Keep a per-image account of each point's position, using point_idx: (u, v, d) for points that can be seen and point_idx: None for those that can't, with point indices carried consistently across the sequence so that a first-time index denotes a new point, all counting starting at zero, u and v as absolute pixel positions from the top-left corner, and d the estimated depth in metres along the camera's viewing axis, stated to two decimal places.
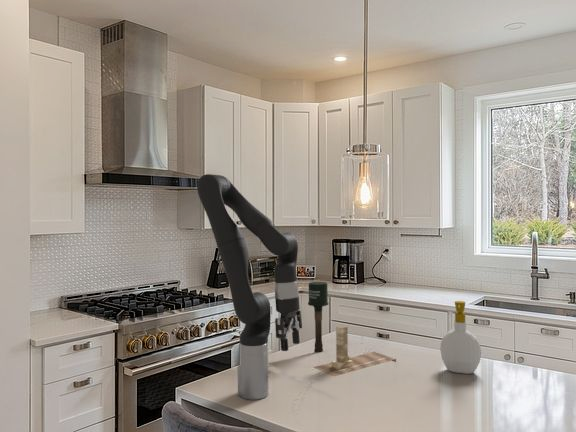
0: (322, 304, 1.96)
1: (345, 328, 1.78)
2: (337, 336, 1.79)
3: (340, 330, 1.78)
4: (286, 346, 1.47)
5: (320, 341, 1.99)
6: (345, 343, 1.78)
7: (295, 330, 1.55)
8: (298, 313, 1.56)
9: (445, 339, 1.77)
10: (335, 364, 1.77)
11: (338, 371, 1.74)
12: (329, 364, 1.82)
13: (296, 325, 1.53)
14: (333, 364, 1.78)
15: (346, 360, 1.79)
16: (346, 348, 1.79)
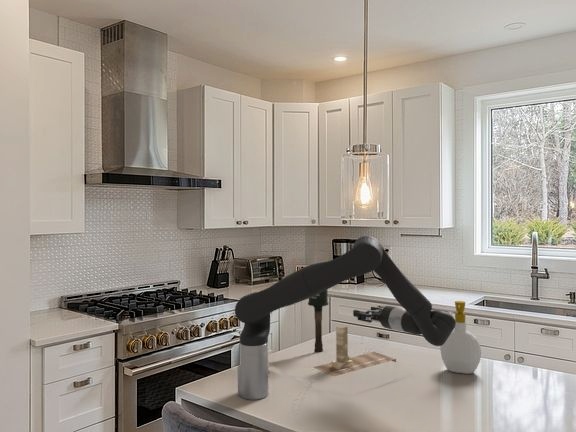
0: (322, 304, 1.96)
1: (345, 328, 1.78)
2: (337, 336, 1.79)
3: (340, 330, 1.78)
4: (356, 315, 1.66)
5: (320, 341, 1.99)
6: (345, 343, 1.78)
7: None
8: None
9: None
10: (335, 364, 1.77)
11: (338, 371, 1.74)
12: (329, 364, 1.82)
13: None
14: (333, 364, 1.78)
15: (346, 360, 1.79)
16: (346, 348, 1.79)
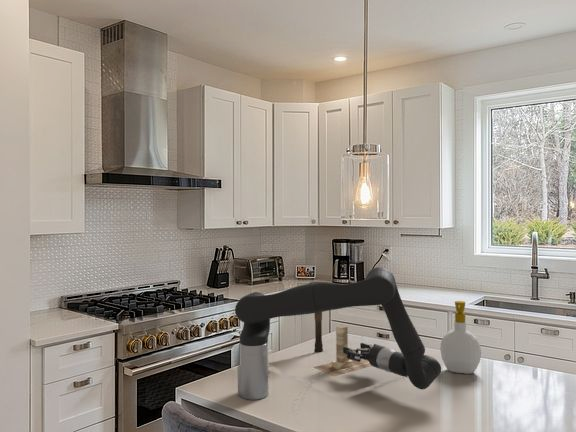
0: None
1: (345, 328, 1.78)
2: (337, 336, 1.79)
3: (340, 330, 1.78)
4: None
5: (320, 341, 1.99)
6: (345, 343, 1.78)
7: (369, 348, 1.73)
8: None
9: (445, 339, 1.77)
10: (335, 364, 1.77)
11: (338, 371, 1.74)
12: (329, 364, 1.82)
13: None
14: (333, 364, 1.78)
15: (346, 360, 1.79)
16: None
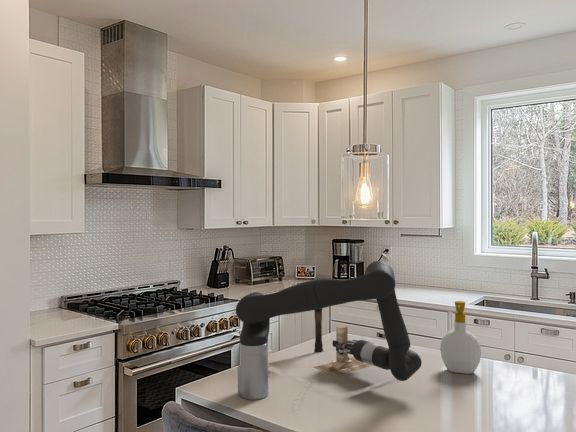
0: None
1: (345, 328, 1.78)
2: (337, 336, 1.79)
3: (340, 330, 1.78)
4: None
5: (320, 341, 1.99)
6: None
7: None
8: None
9: (445, 339, 1.77)
10: (335, 364, 1.77)
11: (338, 371, 1.74)
12: (329, 364, 1.82)
13: None
14: (333, 364, 1.78)
15: (346, 360, 1.79)
16: None
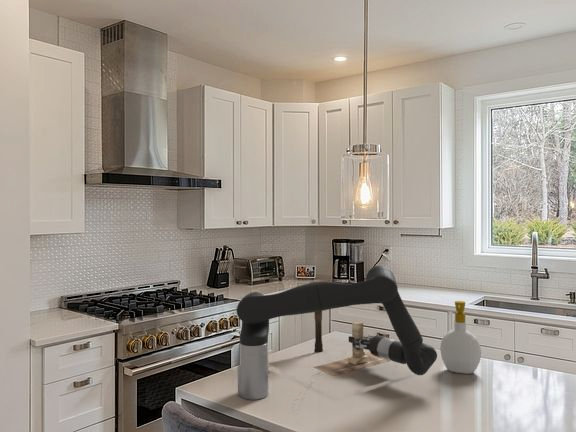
0: None
1: (361, 324, 1.83)
2: (353, 332, 1.83)
3: (356, 326, 1.82)
4: (351, 341, 1.84)
5: (320, 341, 1.99)
6: None
7: None
8: None
9: (445, 339, 1.77)
10: (351, 359, 1.82)
11: (338, 371, 1.74)
12: (329, 364, 1.82)
13: None
14: (349, 359, 1.82)
15: (362, 355, 1.83)
16: None
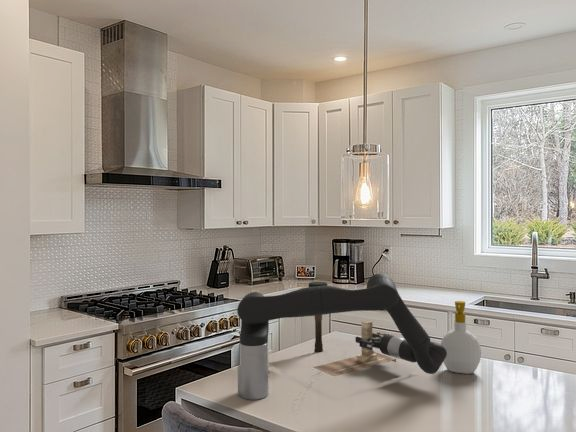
0: None
1: (370, 323, 1.86)
2: (362, 331, 1.87)
3: (365, 325, 1.85)
4: None
5: (320, 341, 1.99)
6: (370, 337, 1.86)
7: (379, 338, 1.87)
8: None
9: (445, 339, 1.77)
10: (361, 357, 1.85)
11: (338, 371, 1.74)
12: (329, 364, 1.82)
13: None
14: (359, 357, 1.86)
15: (371, 354, 1.86)
16: None
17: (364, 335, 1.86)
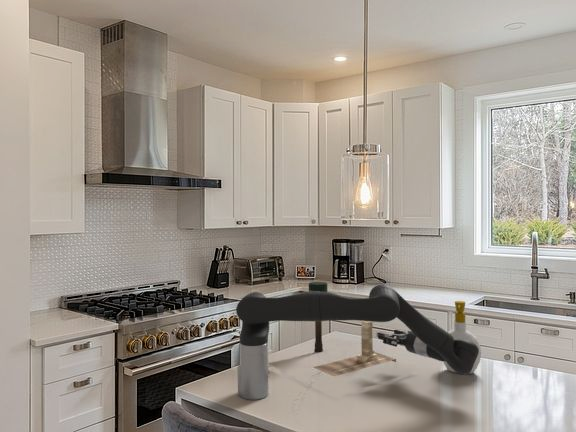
0: None
1: (370, 323, 1.86)
2: (362, 331, 1.87)
3: (365, 325, 1.85)
4: None
5: (320, 341, 1.99)
6: (370, 337, 1.86)
7: None
8: None
9: None
10: (361, 357, 1.85)
11: (338, 371, 1.74)
12: (329, 364, 1.82)
13: None
14: (359, 357, 1.86)
15: (371, 354, 1.86)
16: (371, 342, 1.86)
17: (364, 335, 1.86)
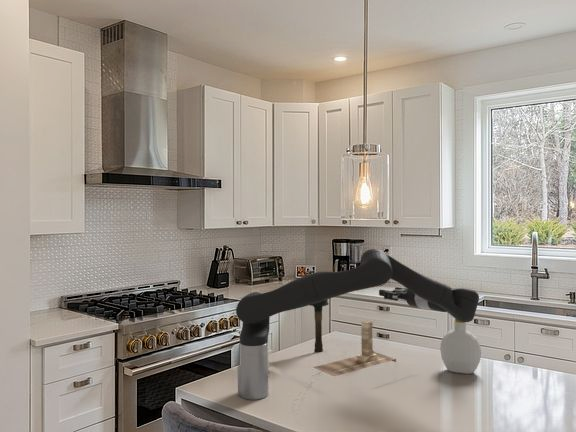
0: (322, 304, 1.96)
1: (370, 323, 1.86)
2: (362, 331, 1.87)
3: (365, 325, 1.85)
4: (381, 294, 1.74)
5: (320, 341, 1.99)
6: (370, 337, 1.86)
7: None
8: None
9: (445, 339, 1.77)
10: (361, 357, 1.85)
11: (338, 371, 1.74)
12: (329, 364, 1.82)
13: None
14: (359, 357, 1.86)
15: (371, 354, 1.86)
16: (371, 342, 1.86)
17: (364, 335, 1.86)
